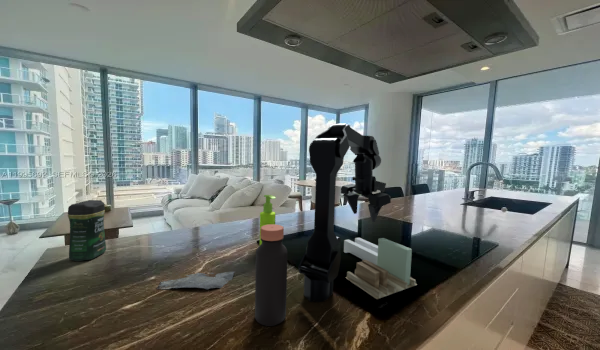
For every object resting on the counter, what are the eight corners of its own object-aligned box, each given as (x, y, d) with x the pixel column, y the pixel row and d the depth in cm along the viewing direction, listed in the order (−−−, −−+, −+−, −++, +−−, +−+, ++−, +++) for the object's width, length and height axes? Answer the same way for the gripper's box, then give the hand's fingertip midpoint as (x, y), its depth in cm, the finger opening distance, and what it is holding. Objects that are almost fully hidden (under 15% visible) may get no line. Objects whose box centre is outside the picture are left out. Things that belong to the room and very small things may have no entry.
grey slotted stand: (376, 269, 78) (376, 256, 78) (343, 251, 92) (344, 240, 92) (391, 265, 82) (392, 252, 82) (358, 248, 96) (358, 237, 95)
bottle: (286, 307, 58) (288, 223, 56) (285, 327, 51) (287, 232, 50) (257, 306, 58) (258, 222, 56) (252, 327, 51) (253, 232, 49)
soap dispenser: (266, 251, 91) (267, 197, 90) (256, 245, 96) (257, 194, 95) (279, 247, 95) (280, 195, 93) (269, 242, 100) (270, 193, 99)
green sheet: (404, 286, 67) (407, 250, 66) (376, 270, 76) (378, 238, 75) (409, 284, 68) (411, 249, 67) (381, 269, 77) (383, 237, 76)
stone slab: (235, 269, 74) (226, 285, 64) (235, 276, 74) (226, 292, 64) (174, 270, 74) (155, 286, 64) (174, 276, 74) (155, 293, 64)
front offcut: (374, 292, 64) (375, 273, 63) (355, 279, 70) (356, 262, 69) (378, 290, 64) (379, 272, 64) (359, 278, 70) (360, 261, 70)
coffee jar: (91, 262, 78) (88, 204, 77) (63, 262, 78) (60, 203, 76) (111, 250, 88) (109, 198, 86) (87, 250, 87) (84, 198, 86)
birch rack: (376, 303, 61) (377, 293, 60) (344, 280, 71) (345, 272, 71) (417, 287, 68) (417, 279, 68) (383, 269, 79) (383, 262, 78)
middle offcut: (382, 290, 64) (383, 272, 64) (361, 277, 71) (362, 260, 71) (386, 289, 65) (387, 271, 65) (365, 276, 72) (365, 259, 72)
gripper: (403, 174, 79) (402, 220, 82) (362, 166, 95) (363, 205, 98) (377, 180, 74) (377, 229, 77) (339, 171, 90) (340, 211, 93)
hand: (364, 217), depth 87 cm, fingers open, 9 cm apart
